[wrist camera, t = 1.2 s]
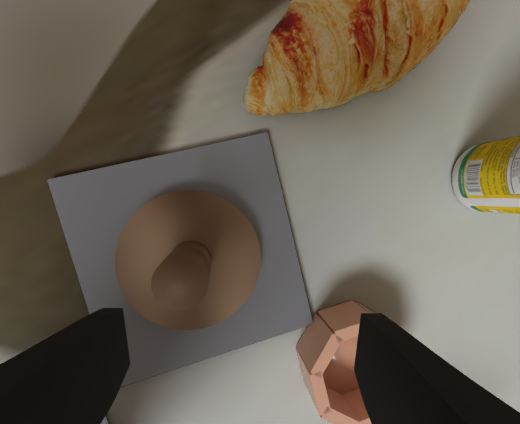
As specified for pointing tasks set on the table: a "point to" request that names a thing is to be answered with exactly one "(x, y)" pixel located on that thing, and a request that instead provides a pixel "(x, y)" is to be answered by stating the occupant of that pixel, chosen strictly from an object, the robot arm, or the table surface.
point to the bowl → (334, 363)
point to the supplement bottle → (489, 177)
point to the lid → (187, 260)
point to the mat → (170, 180)
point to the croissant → (344, 51)
